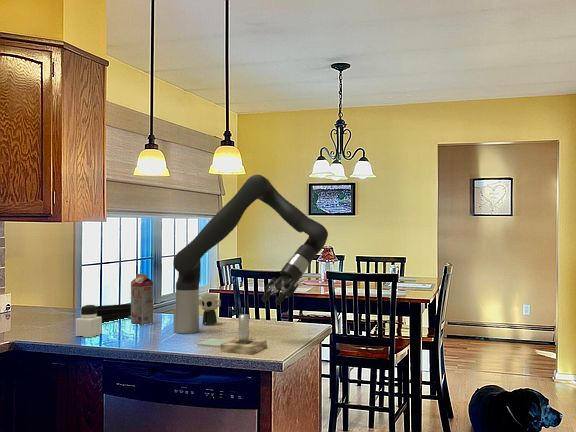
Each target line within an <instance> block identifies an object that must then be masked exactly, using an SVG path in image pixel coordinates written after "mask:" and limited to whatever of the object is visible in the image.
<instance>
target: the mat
mask: <svg viewBox="0 0 576 432" xmlns="http://www.w3.org/2000/svg"><path fill="white" fill-rule="evenodd" d="M230 340H231V339H222V338H221V339H220V338H208V339H206V340H203V341H200V342H197V343H196V345H197V346H201V347H212V348H221V344H223V343H225V342H228V341H230Z"/></svg>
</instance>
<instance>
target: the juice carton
mask: <svg viewBox="0 0 576 432" xmlns="http://www.w3.org/2000/svg"><path fill="white" fill-rule="evenodd" d="M135 276H136V277H135V278H134V279H132V280H131V281H130V304H131V316H130V324H131V323H132V324H139V325H144V324H150V323H153V324H154V281H153V280H152V279H150V278H149V277H148V274H146V273H136V275H135ZM150 325H151V324H150Z"/></svg>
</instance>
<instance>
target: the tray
mask: <svg viewBox="0 0 576 432" xmlns="http://www.w3.org/2000/svg"><path fill="white" fill-rule="evenodd" d="M96 306H97V315H96V317H102V323H104V322H109V321H114V320H118V319H124V318H129V319H130V317H131V303H123V304H121V303H120V304H109V305H107V304H106V305H96Z"/></svg>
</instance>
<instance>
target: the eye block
mask: <svg viewBox="0 0 576 432" xmlns="http://www.w3.org/2000/svg"><path fill="white" fill-rule="evenodd" d="M229 340H230V341H228V342H225V343H223V344H221V347H220V353H221V352H222V353H230V354H231V353H233V354H243V355H244V354H245V355H254V354H256V353H258V352H260V351H262V350H264V349H267V348H268V347H267V346H268V344H267V343H268V342H267V341H268V340H267V339H256V338H249V344H239V337H235V338H233V339H229Z"/></svg>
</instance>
